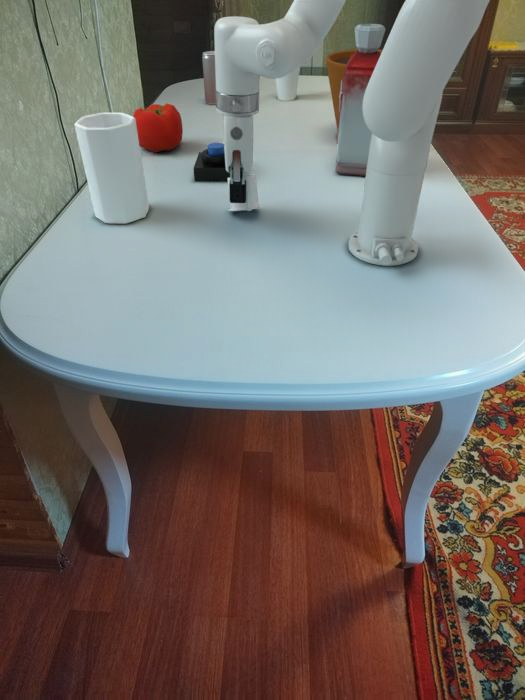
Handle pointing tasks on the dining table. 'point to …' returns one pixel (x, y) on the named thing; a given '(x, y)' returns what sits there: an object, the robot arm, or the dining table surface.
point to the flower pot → (337, 75)
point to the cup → (113, 166)
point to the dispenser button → (216, 149)
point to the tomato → (158, 127)
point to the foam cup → (287, 86)
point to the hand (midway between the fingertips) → (237, 201)
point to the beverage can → (209, 77)
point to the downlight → (247, 195)
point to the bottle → (357, 102)
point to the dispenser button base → (210, 167)
